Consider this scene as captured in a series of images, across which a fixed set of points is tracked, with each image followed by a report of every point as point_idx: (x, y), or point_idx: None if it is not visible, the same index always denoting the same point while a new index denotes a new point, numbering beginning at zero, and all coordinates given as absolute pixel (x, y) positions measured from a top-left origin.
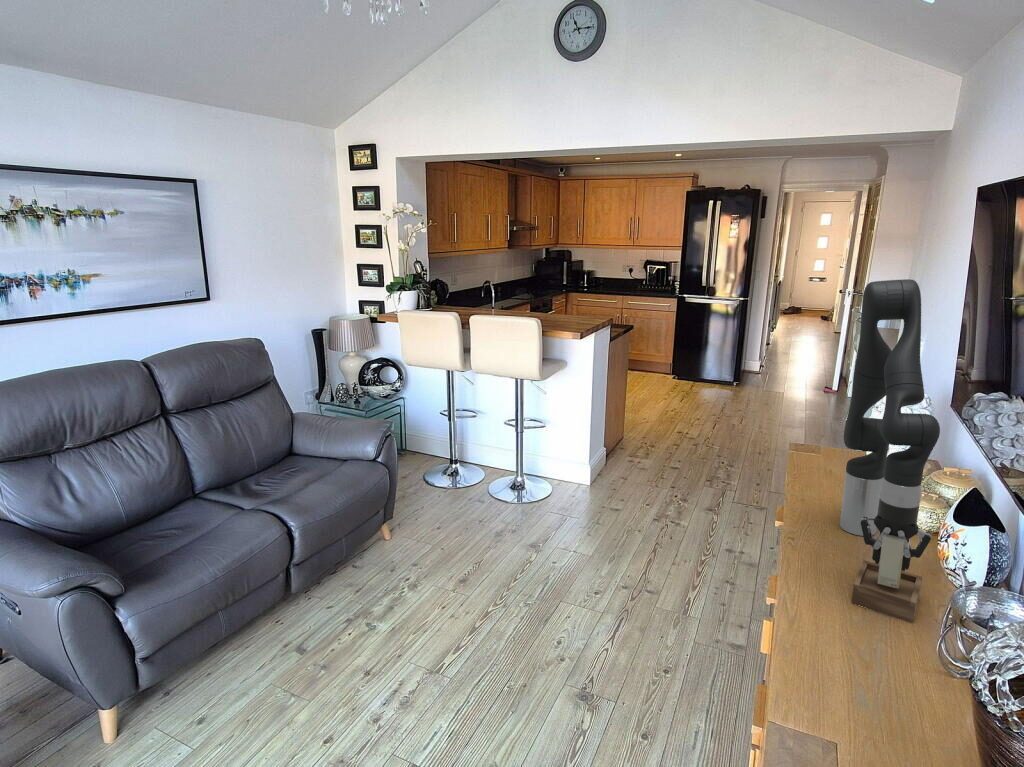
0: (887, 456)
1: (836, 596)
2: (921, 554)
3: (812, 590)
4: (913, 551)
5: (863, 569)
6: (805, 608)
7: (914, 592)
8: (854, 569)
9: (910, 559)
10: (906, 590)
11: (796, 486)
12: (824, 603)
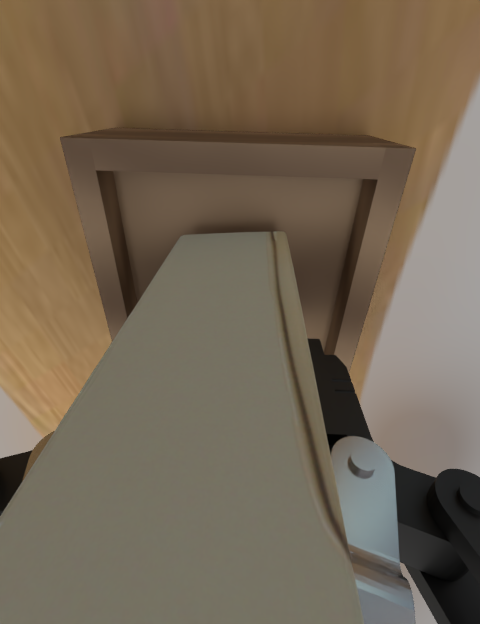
0: None
1: (99, 318)
2: (471, 581)
3: (29, 324)
4: (404, 561)
5: (106, 256)
6: (67, 403)
7: (346, 334)
8: (50, 37)
9: (360, 413)
10: (314, 272)
11: None
12: (91, 365)
